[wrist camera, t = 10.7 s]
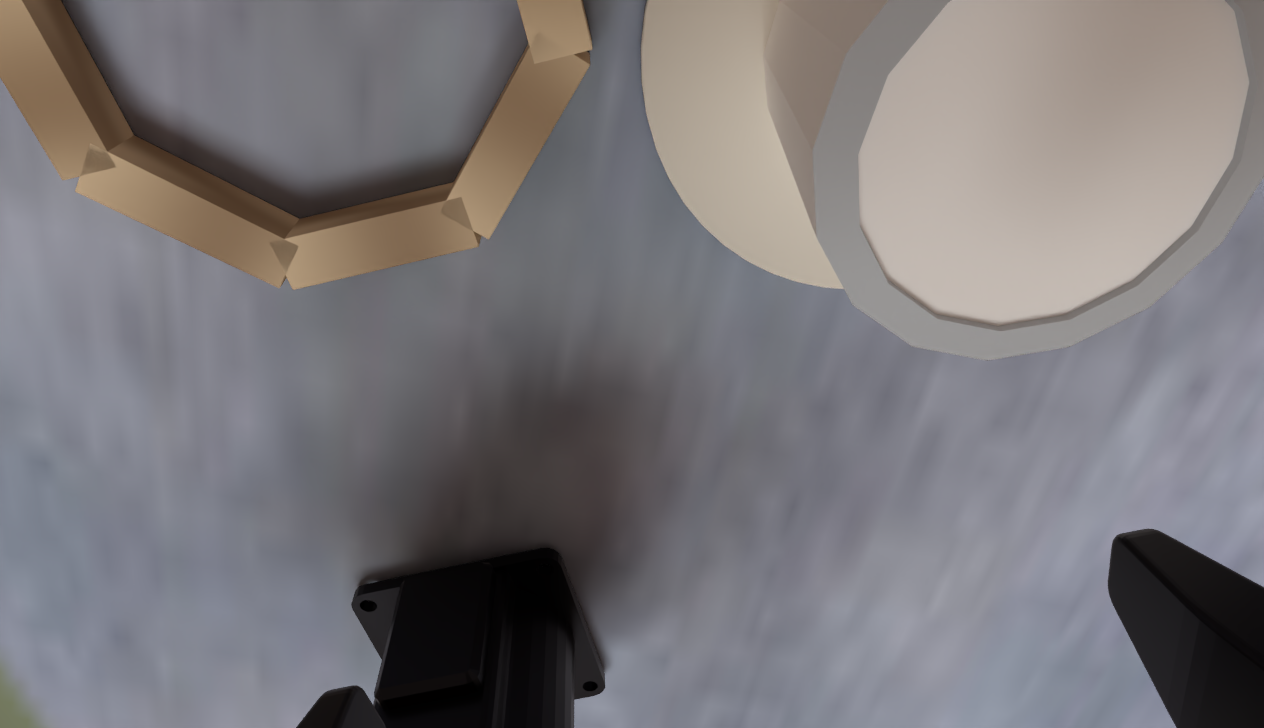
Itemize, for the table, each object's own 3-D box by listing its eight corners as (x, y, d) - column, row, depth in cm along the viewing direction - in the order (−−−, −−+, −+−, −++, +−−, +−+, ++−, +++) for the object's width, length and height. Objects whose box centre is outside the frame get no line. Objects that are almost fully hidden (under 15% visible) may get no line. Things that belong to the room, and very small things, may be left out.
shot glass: (931, 252, 20) (1079, 417, 14) (679, 140, 18) (727, 274, 12) (1124, -31, 17) (1416, 27, 11) (842, -199, 15) (1010, -236, 9)
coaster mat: (1125, 227, 21) (1134, 233, 20) (690, 324, 21) (692, 331, 21) (1179, -333, 15) (1193, -337, 15) (584, -175, 16) (585, -175, 15)
